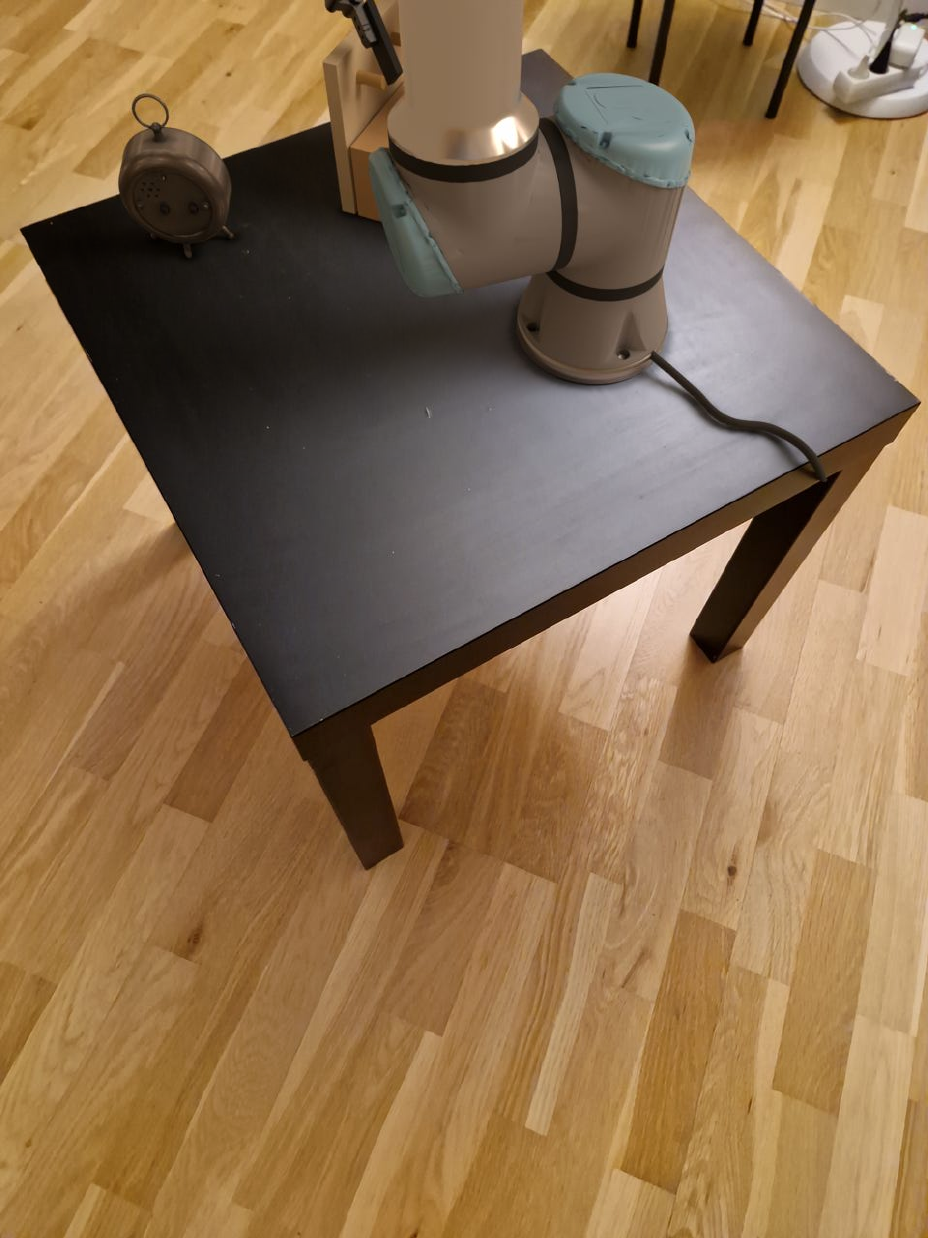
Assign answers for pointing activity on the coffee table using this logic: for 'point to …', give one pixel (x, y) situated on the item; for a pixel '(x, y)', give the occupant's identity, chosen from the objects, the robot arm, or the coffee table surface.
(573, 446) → the coffee table surface
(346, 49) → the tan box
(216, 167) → the alarm clock
